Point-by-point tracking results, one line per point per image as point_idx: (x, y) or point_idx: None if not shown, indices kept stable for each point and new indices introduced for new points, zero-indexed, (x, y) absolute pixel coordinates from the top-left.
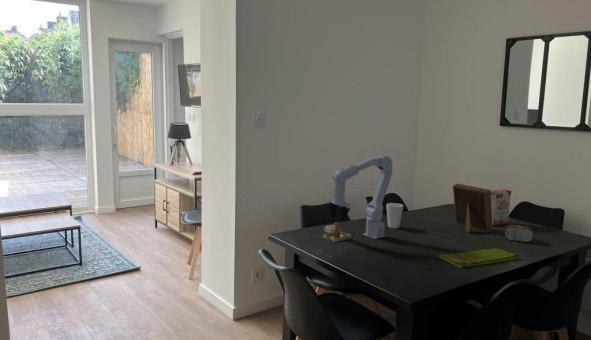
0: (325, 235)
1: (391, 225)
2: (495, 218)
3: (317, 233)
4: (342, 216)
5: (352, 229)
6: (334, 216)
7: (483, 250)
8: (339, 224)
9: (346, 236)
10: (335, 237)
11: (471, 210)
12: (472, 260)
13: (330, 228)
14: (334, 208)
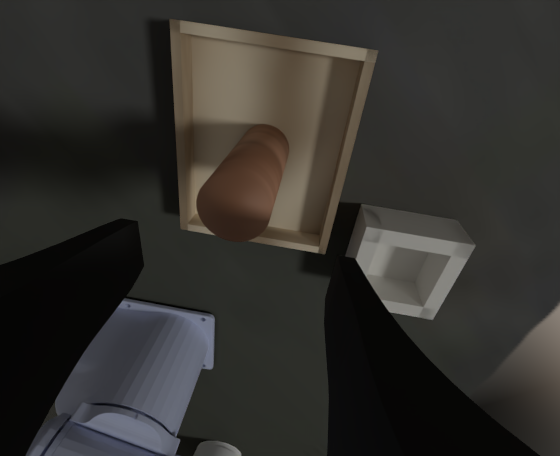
0: (329, 46)
1: (209, 452)
2: None
3: (490, 145)
4: (54, 246)
5: (322, 358)
6: (328, 298)
7: None
8: (200, 196)
9: (180, 175)
10: (262, 126)
11: None
12: None
13: (392, 235)
14: (340, 433)
